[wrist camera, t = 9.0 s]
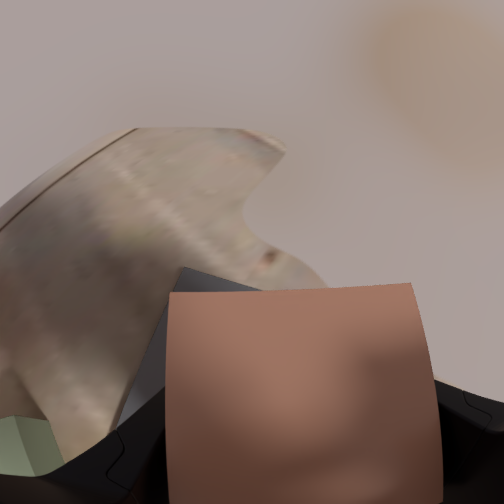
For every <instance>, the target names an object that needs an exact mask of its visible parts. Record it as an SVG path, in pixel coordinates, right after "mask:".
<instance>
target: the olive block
mask: <svg viewBox="0 0 504 504" xmlns="http://www.w3.org/2000/svg"><path fill="white" fill-rule="evenodd" d="M64 464H65V462H64V460H63V458H62V455H61V453H60V450H59V448H58V445H57V443H56V440H55V437H54V435H53V432H52V429H51V426H50V423H49V421H47V420H40V419H34V418H28V417H22V416H17V415H12V416H8V417H5V418H1V419H0V474H8V475H18V476H41V475H45V474H48V473H50V472H52V471H54V470H56V469H57V468H59V467H61V466H63V465H64Z"/></svg>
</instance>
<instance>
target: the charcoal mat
mask: <svg viewBox="0 0 504 504" xmlns="http://www.w3.org/2000/svg"><path fill="white" fill-rule="evenodd" d="M239 291H262V290H258V289H255V288H252V287H248V286H245V285H242V284H238V283H235V282H232V281H228V280H225V279H222V278H218V277H215V276H212V275H209V274H205V273H202V272H199V271H196V270H193V269H190V268H186V267H184V269H183V271H182V273H181V275H180V277H179V279H178V281H177V284H176V286H175V288H174V290H173V292H239ZM168 308H169V301H168V303H167V305H166V307H165V310H164V312H163V314H162V316H161V319H160V321H159V323H158V325H157V328H156V330H155V332H154V335H153V337H152V339H151V342H150V344H149V346H148V349H147V351H146V353H145V356H144V358H143V360H142V363H141V365H140V368H139V370H138V373H137V375H136V377H135V380H134V382H133V385H132V387H131V390H130V393H129V395H128V398H127V400H126V403H125V405H124V408H123V411H122V413H121V416H120V419H119V421H118V424H117V427H118V426H119V425H121V424H122V423H123V422H124V421H125V420H126V419H128V418H129V417H130V416H131V415H132V414H133V413H135V412H136V411H137V410H138V409H139V408H140V407H141V406H143V405H144V404H145V403H146V402H147V401H148V400H149V399H151V398H152V397H153V396H154V395H155V394H156V393H157V392H159V391H160V390H161V389H162V388H163V387H164V386H165V376H166V344H167V324H168ZM117 427H116V428H117ZM115 430H116V429H115Z"/></svg>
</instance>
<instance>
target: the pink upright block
mask: <svg viewBox="0 0 504 504" xmlns="http://www.w3.org/2000/svg"><path fill="white" fill-rule="evenodd" d="M165 427H166V457H167V475H168V490H169V502H170V504H439V503H441V502H443V457H442V441H441V429H440V419H439V411H438V403H437V396H436V389H435V383H434V377H433V372H432V366H431V361H430V356H429V351H428V346H427V342H426V338H425V333H424V329H423V325H422V321H421V317H420V313H419V309H418V306H417V302H416V298H415V295H414V291H413V288H412V285H411V283H402V284H388V285H374V286H360V287H344V288H323V289H302V290H275V291H239V292H170V295H169V308H168V324H167V344H166V376H165Z"/></svg>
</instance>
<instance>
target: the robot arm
mask: <svg viewBox="0 0 504 504" xmlns="http://www.w3.org/2000/svg"><path fill="white" fill-rule="evenodd" d="M434 383H435V389H436V396H437V403H438V411H439V419H440V429H441V441H442V457H443V502H441V503H439V504H504V403H503V402H499V401H495V400H491V399H488V398H484V397H481V396H478V395H475V394H472V393H469V392H467V391H464V390H463V391H462V390H461V389H458V388H456V387H453V386H450V385H448V384H445V383H442V382H440V381H437V380H434ZM0 504H170V502H169V490H168V475H167V457H166V427H165V386H164V387H163V388H162V389H161V390H160V391H159V392H157V393H156V394H155V395H154V396H153V397H152V398H151V399H149V400H148V401H147V402H146V403H145V404H144V405H143V406H141V407H140V408H139V409H138V410H137V411H136V412H135V413H133V414H132V415H131V416H130V417H129V418H128V419H126V420H125V421H124V422H123V423H122V424H121V425H119V426H118V427H117V428H116V430H113V431H112V432H111V433H110V434H109V435H107V436H106V437H105V438H103V439H102V440H101V441H100V442H98V443H97V444H96V445H94V446H93V447H91V448H90V449H88V450H87V451H85V452H84V453H82V454H81V455H79V456H77V457H76V458H74V459H73V460H71V461H69V462H68V463H66V464H64V465H63V466H61V467H59V468H57V469H56V470H54V471H52V472H50V473H48V474H45V475H41V476H18V475H8V474H0Z"/></svg>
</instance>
